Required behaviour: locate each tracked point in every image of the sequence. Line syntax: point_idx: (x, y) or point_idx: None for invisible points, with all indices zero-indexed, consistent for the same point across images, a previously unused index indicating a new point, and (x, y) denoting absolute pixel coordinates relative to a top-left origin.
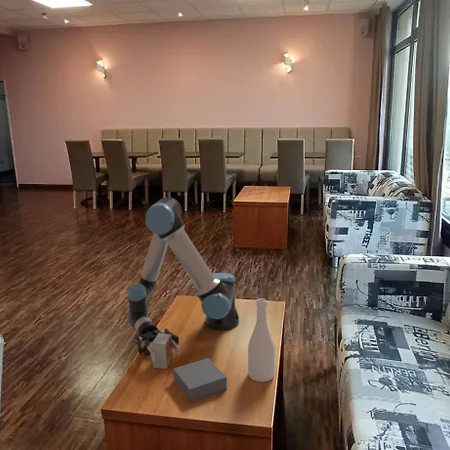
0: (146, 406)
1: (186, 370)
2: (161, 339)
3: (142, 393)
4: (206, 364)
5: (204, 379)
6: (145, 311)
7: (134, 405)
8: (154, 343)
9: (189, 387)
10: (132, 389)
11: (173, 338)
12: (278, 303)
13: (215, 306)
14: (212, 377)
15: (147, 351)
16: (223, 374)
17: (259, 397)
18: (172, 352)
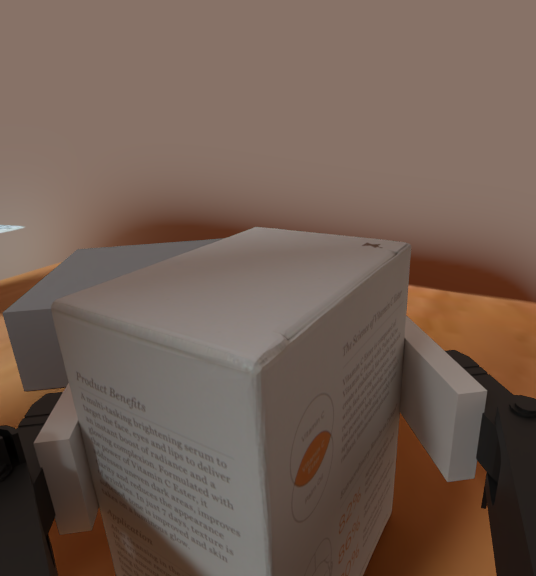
0: (409, 298)
1: None
2: (267, 254)
3: (440, 339)
4: (70, 286)
5: (161, 250)
6: None
7: (463, 306)
8: (370, 240)
9: None
10: (510, 365)
11: (10, 429)
12: None
13: None
14: (125, 252)
15: (464, 367)
16: (73, 254)
17: (40, 278)
18: (115, 559)
